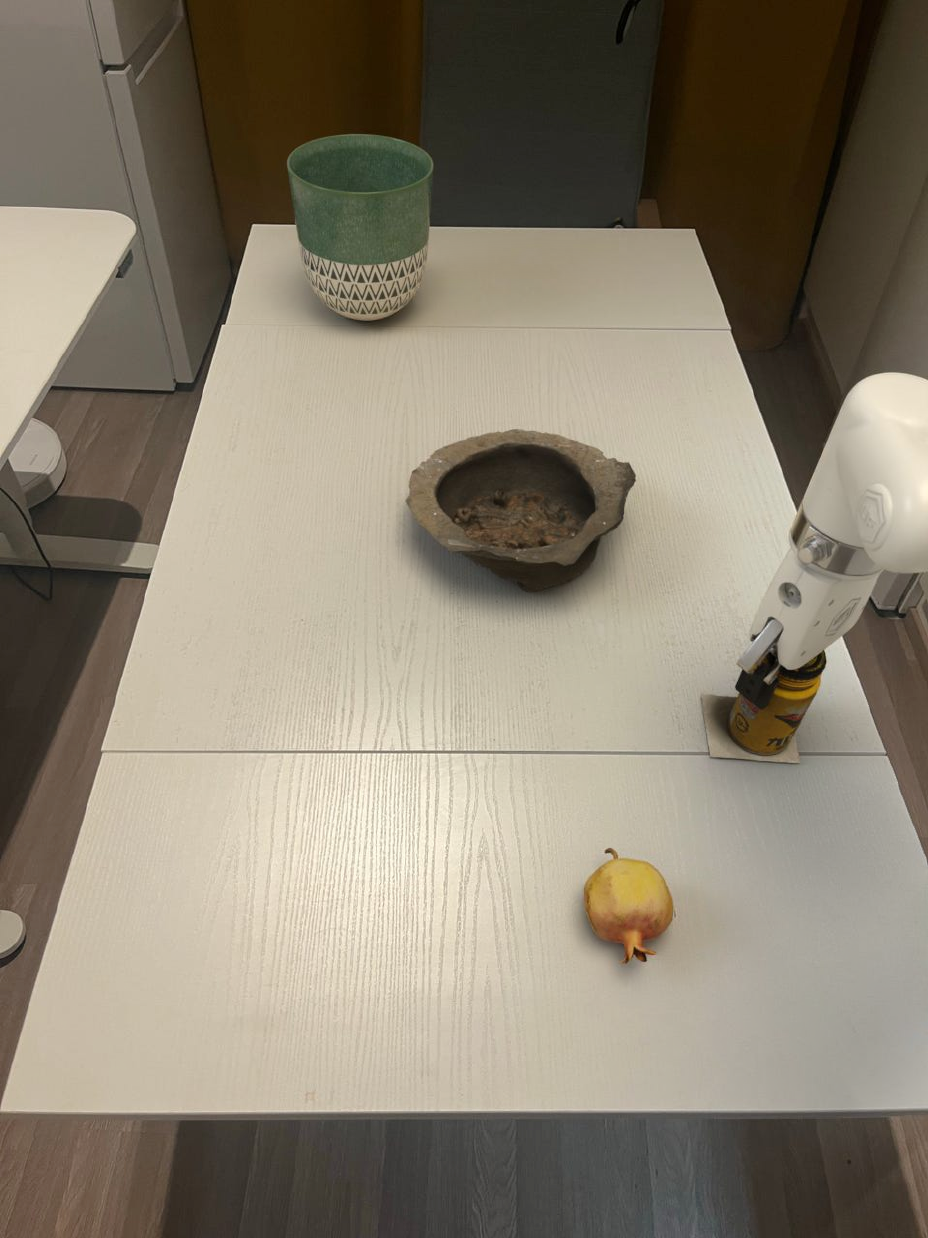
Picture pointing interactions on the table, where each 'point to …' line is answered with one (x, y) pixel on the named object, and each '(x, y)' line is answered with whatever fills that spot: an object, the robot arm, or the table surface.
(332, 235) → the planter
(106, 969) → the table surface
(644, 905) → the fruit
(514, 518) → the stone bowl
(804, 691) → the condiment
